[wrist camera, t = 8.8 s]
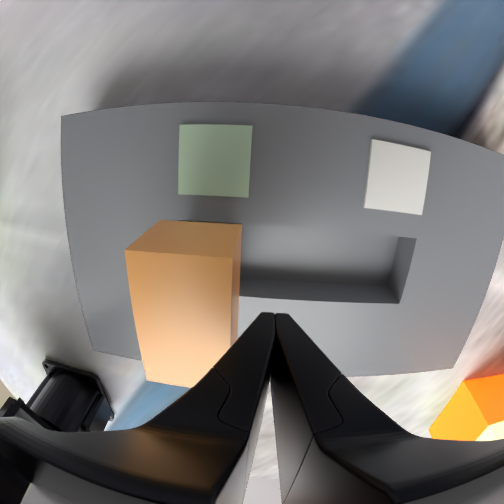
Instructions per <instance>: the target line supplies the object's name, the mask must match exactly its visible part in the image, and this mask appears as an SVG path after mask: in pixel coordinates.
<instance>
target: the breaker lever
mask: <svg viewBox="0 0 504 504" xmlns="http://www.w3.org/2000/svg"><path fill="white" fill-rule="evenodd" d="M241 241H242V224H241V223H225V222H208V221H192V222H189V221H170V220H159V221H158V222H157V223H156V224H154V225H153V226H152V227H151V228H150V229H148V230H147V231H146V232H145V233H144V234H143V235H141V236H140V237H139V238H138V239H137V240H136V241H134V242H133V243H132V244H131V245H130V246H129V247H127V248H126V249H125V258H126V267H127V275H128V283H129V290H130V297H131V303H132V309H133V315H134V321H135V326H136V332H137V337H138V342H139V347H140V352H141V357H142V361H143V366H144V370H145V374H146V378H147V380H148V381H153V382H159V383H165V384H170V385H177V386H183V387H190V388H192V387H193V386H195V385H196V384H197V383H198V382H199V381H200V380H201V379H202V378H203V377H204V376H205V375H206V373H207V372H208V371H209V370H210V369H211V368H213V366H214V365H215V364H216V363H217V362H218V360H219V359H220V358H221V357H222V356H223V355H224V354H225V353H226V352H227V350H228V349H229V348H230V347H231V346H232V345H233V344H234V343H235V341H236V340H237V338H238V312H239V287H240V263H241Z"/></svg>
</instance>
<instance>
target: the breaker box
mask: <svg viewBox="0 0 504 504" xmlns="http://www.w3.org/2000/svg"><path fill="white" fill-rule="evenodd" d="M61 167H62V186H63V199H64V209H65V218H66V227H67V234H68V241H69V248H70V254H71V260H72V265H73V271H74V276H75V281H76V286H77V290H78V295H79V299H80V303H81V307H82V311H83V315H84V319H85V323H86V327H87V330H88V334H89V337H90V341H91V344H92V347H93V350H95V351H99V352H103V353H108V354H112V355H117V356H122V357H127V358H132V359H137V360H142V357H141V352H140V347H139V342H138V337H137V332H136V326H135V321H134V315H133V309H132V303H131V297H130V290H129V283H128V275H127V267H126V258H125V249H126V248H127V247H129V246H130V245H131V244H132V243H133V242H134V241H136V240H137V239H138V238H139V237H140V236H141V235H143V234H144V233H145V232H146V231H147V230H148V229H150V228H151V227H152V226H153V225H154V224H156V223H157V222H158V221H159V220H170V221H189V222H192V221H208V222H225V223H241V224H242V241H241V263H240V287H239V312H238V338H239V337H240V336H241V335H242V333H243V332H244V331H245V330H246V329H247V328H248V327H249V325H250V324H251V323H252V322H253V321H254V320H255V318H256V317H257V316H258V315H259V314H260V313H261V312H273V313H274V314H275V313H288V314H289V315H290V316H291V317H292V318H293V319H294V320H295V321H296V323H297V324H298V325H299V326H300V327H301V328H302V329H303V330H304V332H305V333H306V334H307V335H308V336H309V337H310V338H311V339H312V340H313V342H314V343H315V344H316V345H317V346H318V347H319V348H320V349H321V350H322V352H323V353H324V354H325V355H326V356H327V357H328V358H329V359H330V360H331V361H332V363H333V364H334V365H335V366H336V367H337V368H338V369H339V370H340V371H341V373H342V374H344V376H345V377H355V376H378V375H393V374H406V373H416V372H426V371H434V370H442V369H450V368H453V367H454V365H455V363H456V361H457V359H458V357H459V355H460V353H461V351H462V349H463V347H464V345H465V343H466V341H467V338H468V336H469V334H470V332H471V330H472V327H473V325H474V323H475V320H476V318H477V316H478V313H479V311H480V308H481V306H482V303H483V300H484V298H485V295H486V292H487V290H488V287H489V284H490V281H491V278H492V275H493V272H494V269H495V265H496V262H497V259H498V255H499V252H500V248H501V245H502V241H503V237H504V155H503V154H500V153H498V152H495V151H492V150H490V149H487V148H484V147H482V146H479V145H476V144H473V143H470V142H467V141H464V140H461V139H458V138H455V137H452V136H449V135H445V134H442V133H438V132H435V131H431V130H428V129H424V128H420V127H416V126H412V125H408V124H404V123H400V122H395V121H391V120H386V119H381V118H376V117H371V116H366V115H360V114H355V113H349V112H342V111H336V110H329V109H321V108H313V107H304V106H294V105H283V104H269V103H251V102H176V103H158V104H145V105H134V106H125V107H116V108H108V109H101V110H94V111H88V112H82V113H76V114H70V115H65V116H61ZM238 338H237V339H238Z"/></svg>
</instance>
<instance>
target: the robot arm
mask: <svg viewBox="0 0 504 504" xmlns="http://www.w3.org/2000/svg"><path fill="white" fill-rule="evenodd" d="M42 364H43V367H44V369H45V371H46V373H47V376H46V378H45V379H44V380H43V382H42V383H41V384H40V386H39V387H38V389H37V390H36V391H35V393H34V394H33V396H32V397H31V398H30V400H29V401H28V403H27V404H25V403H24V401H23V400H22V399H21V398H20V397H19V399H18V400H15V399H13V398H11V397H9V398H8V399H7V401H6V402H5V404H4V405H3V406H2V408H1V409H0V504H242V503H243V500H244V496H245V492H246V488H247V483H248V479H249V475H250V471H251V467H252V462H253V458H254V454H255V449H256V445H257V440H258V436H259V431H260V426H261V422H262V417H263V412H264V407H265V402H266V398H267V393H268V388H269V381H270V383H271V395H272V405H273V415H274V426H275V436H276V446H277V457H278V467H279V478H280V489H281V499H282V504H504V439H499V440H492V441H463V440H445V439H433V438H424V437H419V436H416V435H413V434H411V433H409V432H408V431H406V430H405V429H403V428H402V427H401V426H399V425H398V424H397V423H396V422H395V421H393V420H392V419H391V418H390V417H389V416H387V415H386V414H385V413H384V412H383V411H381V410H380V409H379V408H378V407H377V406H375V405H374V404H373V403H372V402H371V401H370V400H369V399H367V398H366V397H365V396H364V395H363V394H362V393H361V392H360V391H359V390H358V389H357V388H356V387H355V386H354V385H353V384H352V383H351V382H350V381H349V380H348V379H347V378H346V377H345V376H344V374H342V373H341V371H340V370H339V369H338V368H337V367H336V366H335V365H334V364H333V363H332V361H331V360H330V359H329V358H328V357H327V356H326V355H325V354H324V353H323V352H322V350H321V349H320V348H319V347H318V346H317V345H316V344H315V343H314V342H313V340H312V339H311V338H310V337H309V336H308V335H307V334H306V333H305V332H304V330H303V329H302V328H301V327H300V326H299V325H298V324H297V323H296V321H295V320H294V319H293V318H292V317H291V316H290V315H289V314H288V313H275V314H274V313H273V312H261V313H260V314H259V315H258V316H257V317H256V318H255V320H254V321H253V322H252V323H251V324H250V325H249V327H248V328H247V329H246V330H245V331H244V332H243V333H242V335H241V336H240V337H239V338H238V339H237V340H236V341H235V343H234V344H233V345H232V346H231V347H230V348H229V349H228V350H227V352H226V353H225V354H224V355H223V356H222V357H221V358H220V359H219V360H218V362H217V363H216V364H215V365H214V366H213V368H211V369H210V370H209V371H208V372H207V373H206V375H205V376H204V377H203V378H202V379H201V380H200V381H199V382H198V383H197V384H196V385H195V386H193V387H192V388H191V389H190V390H189V391H187V392H186V393H185V394H184V395H183V396H181V397H180V398H179V399H178V400H176V401H175V402H174V403H172V404H171V405H170V406H168V407H167V408H166V409H165V410H163V411H162V412H161V413H159V414H158V415H157V416H155V417H154V418H153V419H151V420H150V421H148V422H147V423H145V424H143V425H141V426H139V427H136V428H132V429H126V430H115V431H104V429H105V426H106V424H107V422H108V421H113V419H114V415H113V413H112V411H111V408H110V406H109V403H108V401H107V399H106V396H105V394H104V391H103V389H102V386H101V383H100V381H99V378H98V377H97V376H96V375H94V374H92V373H88V372H85V371H81V370H78V369H74V368H71V367H68V366H64V365H61V364H58V363H55V362H52V361H49V360H44V361H43V363H42Z"/></svg>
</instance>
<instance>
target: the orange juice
mask: <svg viewBox="0 0 504 504" xmlns="http://www.w3.org/2000/svg"><path fill="white" fill-rule="evenodd" d="M429 432H430V434H431V437H432V438H433V439H445V440H463V441H492V440H499V439H504V374H501V375H496V376H490V377H485V378H479V379H472V380H466V381H463V382H462V383H461V385H460V386H459V388H458V389H457V391H456V392H455V394H454V395H453V397H452V398H451V400H450V401H449V403H448V404H447V405H446V407H445V408H444V410H443V411H442V412H441V414H440V415H439V416H438V418H437V419H436V420H435V422H434V423H433V424H432V426H431V427H430V428H429Z"/></svg>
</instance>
